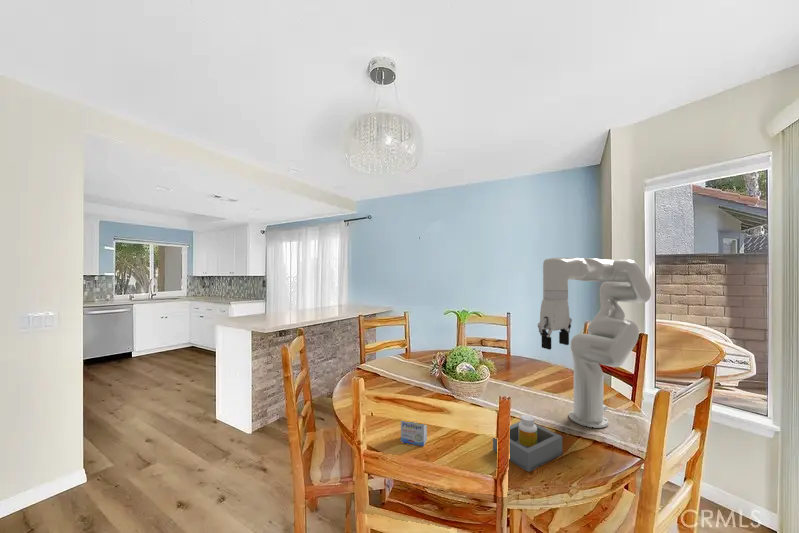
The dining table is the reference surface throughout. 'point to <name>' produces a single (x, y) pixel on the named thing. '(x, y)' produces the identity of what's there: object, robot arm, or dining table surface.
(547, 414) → the dining table surface
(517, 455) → the box
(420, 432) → the medicine box
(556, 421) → the dining table surface
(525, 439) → the supplement bottle
